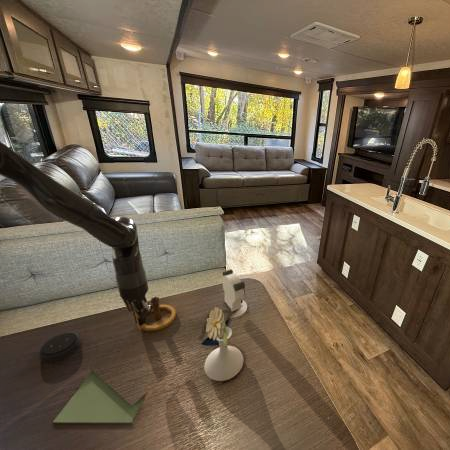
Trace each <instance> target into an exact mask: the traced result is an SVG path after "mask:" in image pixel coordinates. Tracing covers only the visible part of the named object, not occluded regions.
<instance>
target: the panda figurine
mask: <svg viewBox="0 0 450 450" xmlns="http://www.w3.org/2000/svg"><path fill="white" fill-rule="evenodd" d="M222 276H223V277H222V288H223V292H224V303H225V304H226V305H227V307H228V308H230V311H231V312H234V313H233V314H232V315H231V316H230V317H229V318H230V319H236V318H238V317H241V316H243V315H244V314H246V312H247V310H248V304H247V302H246V301H245V300H244V299H245V297H246V290H245V289H246V284H245V282H244V281H243V280H241V279H240V277H239V276H238V275H237V273H235V272H234V270H233V269H232V268H231V269H227V270H223V271H222Z"/></svg>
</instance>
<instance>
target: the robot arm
mask: <svg viewBox="0 0 450 450" xmlns="http://www.w3.org/2000/svg"><path fill="white" fill-rule="evenodd" d="M0 176H1V177H4V179H5V178H6V179H8V180H9V181H11V182H13V183H14V184H16V185H17V186H19V187H20V188H21V189H22V190H24V191H25V192H26V193H27V194H28V195H29V196H31V198H32V199H34V200H35V202H36V203H38V204H39V206H41V207H42V209H44V210H46V212H48V213H49V214H51V215H53V216H55V217H57V218H58V219H60V220H63V221H65V222H67V223H69V224H71V225H73V226H75V227H78V228H80V229H82V230H84V231H85V232H86V233H88V234H89V235H90V236H92V237H93V238H94V239H96V240H97V241H99V242H100V243H102V244H104V245H105V246H108V247H110V248H111V249H112V257H111V258H112V264H113V268H114V272H115V281H116V285H117V289H118V293H119V297H120V298H121V300H122V301H123V303H124V305H125V306H126V308H127V310H128V311H129V312H131V314H132V315H133V318H134V322H135V324H137V320H138V324H139V325H140V326H142V325H143V324H146V323H147V316H149V315H151V314H152V312H151V311H152V309H153V306H152V304H150V305H149V304H148V300H147V297H146V295H147V293H148V291H149V283H148V280H147V274H146V269H145V267H144V263H143V258H142V254H141V250H140V243H139V234H138V228H137V224H136V222H135V221H134V220H133V219H131V218H130V217H126V216H117V217H114V218H113V217H111V216H110V215H108V214H107V212H106V210H105V209H104V208H103V207H102V206H101V205H99V204H98V203H95V202H94V201H92V200H90V199H89V198H87V197H85V196H83V195H81V194H79V193H77V192H75V191H74V190H72V189H70V188H68V187H66V186H65V185H64V184H62V183H60V182H58V181H57V180H56V179H54V178H53V177H51V176H50V175H48V174H47V173H45V172H44V171H42V170H41V169H40V168H38V167H37V166H35V165H34V164H32V163H31V162H30V161H28V160H27V159H26V158H24V157H22V156H21V155H20V154H18V153H17V152H15V151H14V150H13V149H12V148H10V147H9V146H8V145H6V144H4V143H3V141H2V142H1V141H0ZM141 311H142V312H141ZM140 312H141V313H140ZM135 313H136V315H137V320H136V316H135Z"/></svg>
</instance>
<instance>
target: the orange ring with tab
mask: <svg viewBox="0 0 450 450" xmlns="http://www.w3.org/2000/svg"><path fill="white" fill-rule="evenodd" d="M159 306H160V310H167V311H169V312H170V313H171V314H172V315H171V317H170V318H169V319H168V320H167V321H165V322H164V323H162V324H159V325H156V326H149V325H148V324H146V323H145V324H143V325H142V326H140V325H139V324H138V320H137V315H136V313H135V316H136V320H137V323H136V325H137V328H138V330H140V331H141V330H143V331H145V332H154V330H155V332H156V331H160V330H163V329H165V328H167V327H168V326H169V325H171V324H172V323H174V320H175V318H176V316H177V313H176V309H175V307H173V306H171V304H170V305H169V304H159ZM141 312H142V311H141ZM141 312H140V313H141ZM152 312H153V313H154V311H153V309H152V311H151V313H152Z"/></svg>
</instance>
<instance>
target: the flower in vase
mask: <svg viewBox="0 0 450 450" xmlns="http://www.w3.org/2000/svg"><path fill="white" fill-rule="evenodd" d="M225 322H226V320H225V315H224V311H223V310H222V308H219V307H214V309H211V310H210V312H209V318H207V319H206V327H205V328H206V329H205V333H207V338H208V337H209V338H210V339H211V338H212V336H213V340H215V339H216V340H218V342H219V345H218V346H219V347H217V348H214V350H212V351H211V352H210V353H209V354H208V356H207V357H206V359H205V362H204V372H205V374H206V376H207V377H208V378H209V379H211V380H213V381H217V382H225V381H228V380H231V379H232V378H234V377H235V376H236V375H237V374H239V372H240V371H241V370H242V368H243V366H244V355H243V353H242V352H241V350H240V349H239V348H237V347H235V346H234V345H228V343H229V339H230V338H231V337H232V334H233V330H232V328H230V327H229V326H228V327H226V324H225Z"/></svg>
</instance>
